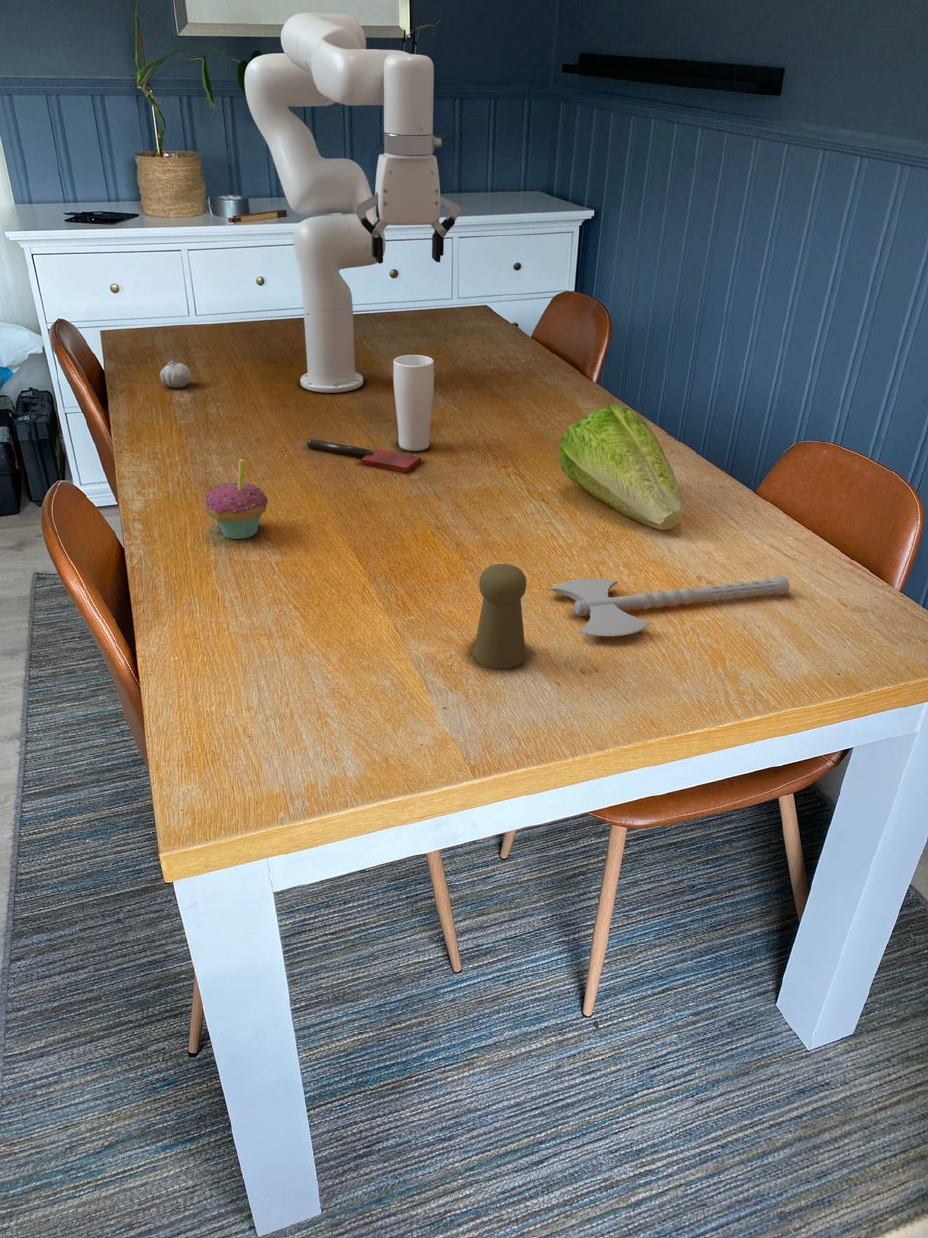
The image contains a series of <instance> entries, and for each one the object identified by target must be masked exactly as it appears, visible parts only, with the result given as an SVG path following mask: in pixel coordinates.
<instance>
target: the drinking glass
mask: <svg viewBox="0 0 928 1238" xmlns="http://www.w3.org/2000/svg"><path fill="white" fill-rule="evenodd" d="M392 381H393V382H392V383H393V394H394V402H395V413H396V422H397V423H396V425H397V435H398V438H397V439H398V446H399V447H400V448H401V449H402V450H404V451H407V452H421V451H425V450H426V449H428V447H429V446H430V441H431V437H430V436H431V424H432V423H431V422H432V412H433V402H434V401H433V400H434V391H435V361H434V359H433V358H432V357H429V356H426V355H422V354H404V355H400V356H397V357H395V358H394V359H393V366H392Z"/></svg>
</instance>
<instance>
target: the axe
mask: <svg viewBox="0 0 928 1238" xmlns="http://www.w3.org/2000/svg"><path fill="white" fill-rule="evenodd" d="M618 583H619V581H616V580H612V579H606V578H595V577H594V578H592V577H590V578H589V577H588V578H587V577H586V578H585V577H584V578H577V579H570V580H567V581H563V582H560V583H558V584H556V585H554V586H553V587H551V588H549V590H550V591H552V592H555V593H558V594H561V595H563V596H566V597H569V598H570V599H572V600H574V601H575V602H574V605H573V610H574V613H575V615H576V616H578V617H581V616H582V617H584V616H586V615H588V616H589V620H588V622H587V623H586V624H585V625H584V626H583V627H582V628H581V629H580V630H579V631H578V633H579V634H584V635H589V636H595V637H621V636H629V635H632V634H635V633H639V632H641V631H643V630H645V629H647V628H648V627H649V626H650V625H652V623H651V622H649V621H647V620H644V619H641V618H638V617H636V616H633V615H631V614H629V613H627V612H625V611H627V610H628V611H629V610H634V609H635V610H636V609H637V610H638V609H641V610H648V609H649V608H656V609H657V608H663V607H664V606H669V607H675V606H677V605H681V604H682V605H690V604H692V603H697V602H705V601H711V602H715V601H718V600H722V599H723V600H730V599H732V598H737V599H742V598H745V597H757V596H759V595H760V596H761V595H764V596H768V595H775V596H782V595H783V596H784V595H786V594H788V592H789V590H790V582H789V579H788V578H787V577H786V576H784V575H778V576H773V577H771V578H770V579H769V578H766V579H763V580H750V581H749V582H743V581H739V582H736V583H723V584H722V585H716V584H712V585H709V586H705V587H696V588H690V587H683V588H681V589H674V588H673V589H667V590H666V591H662V590H655V591H653V592H649V593H648V592H644V591H643V592H639V594H633V595H624V596H615V597H609V593H610V591H611V590H612V589H613V587H615V586H616V585H617V584H618Z"/></svg>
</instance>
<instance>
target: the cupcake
mask: <svg viewBox="0 0 928 1238" xmlns="http://www.w3.org/2000/svg"><path fill="white" fill-rule="evenodd" d="M244 477H245V459H244V454H242V455H241V458H240V459H239V460H238V482H225V483H221V484H219V485H217V486H215V487H213V488H214V489H211V490H210V491H209V492H208V494H206V497H205V500H204V505H203V508H204V511H205V513H206V514H207V515H208V516H210V517H212V518H213V519H215V521H216V522H217V524H218V526H219V529H220V530H221V533H222V535H223V536H224V537H225V538H228V539H232V540H242V539H247V538H248V539H249V538H250V537H253V536H254V535H256V534H257V532H258V529H259V524H260V522H261V521H260V520H261V517H262V515H263V513H265V512H266V510H267V505H268V503H269V500H268V497H267V495H265V493H264V491H263V490H262V489H260V488H259V487H258V486H256V485H255V484H251V483H249V482H244Z"/></svg>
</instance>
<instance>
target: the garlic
mask: <svg viewBox="0 0 928 1238" xmlns="http://www.w3.org/2000/svg"><path fill="white" fill-rule="evenodd" d="M159 377H160V380H161V382H162V384H164V385H165V386H166V387H169V388H172V389H173V388H175V389H181V388H184V387H186V386H187V385H188V384H189V383H190V382H191V380H192V372H191V370H190V368H189V366H187V365H186V364H184V363H179V362H175V361H174V360H170V361H169V362H168V363H167V365H165V366H164V367H163V368H162V369H161V370H160V371H159Z"/></svg>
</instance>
